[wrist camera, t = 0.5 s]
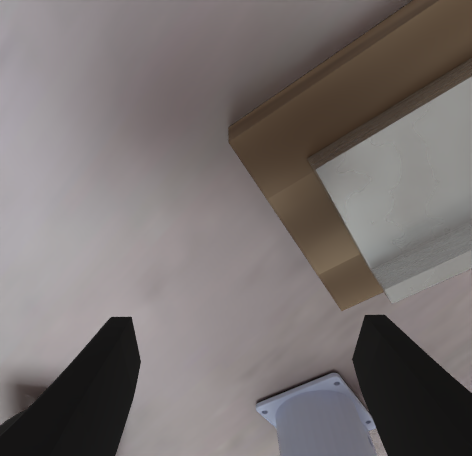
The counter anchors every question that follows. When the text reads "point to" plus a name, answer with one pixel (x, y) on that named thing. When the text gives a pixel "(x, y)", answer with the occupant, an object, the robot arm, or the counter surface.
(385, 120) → the grey stepped block
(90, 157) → the counter surface
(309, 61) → the counter surface
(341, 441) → the robot arm
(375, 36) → the socket plate
